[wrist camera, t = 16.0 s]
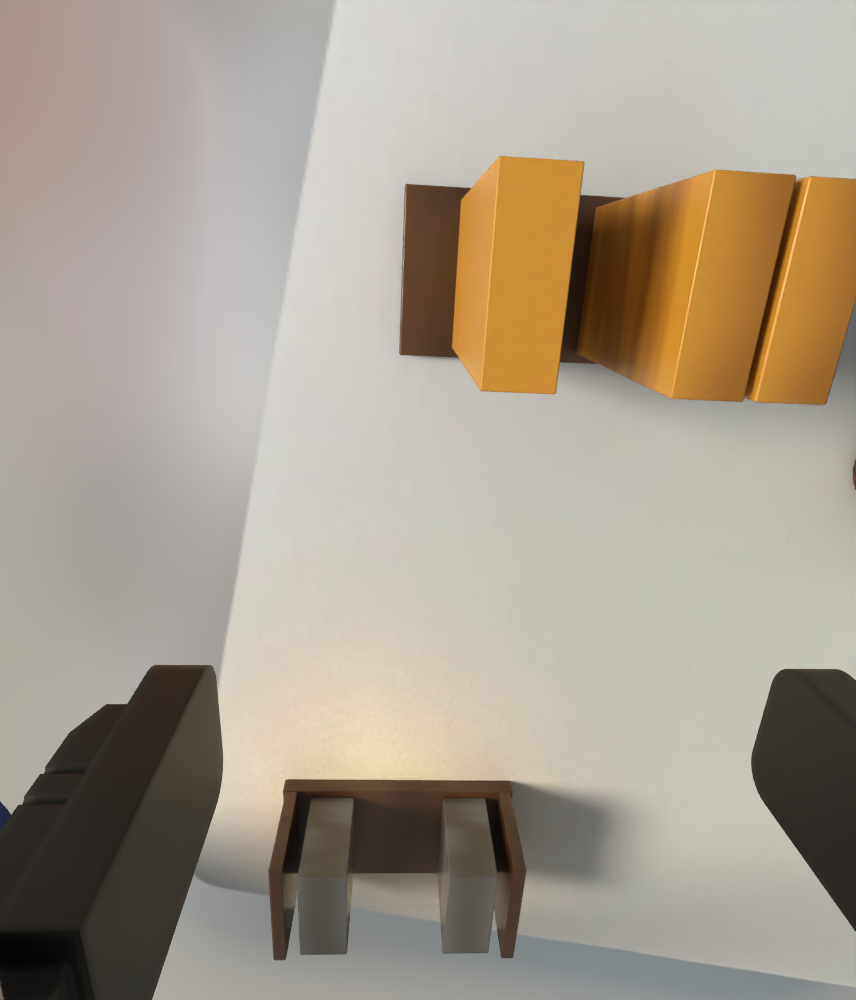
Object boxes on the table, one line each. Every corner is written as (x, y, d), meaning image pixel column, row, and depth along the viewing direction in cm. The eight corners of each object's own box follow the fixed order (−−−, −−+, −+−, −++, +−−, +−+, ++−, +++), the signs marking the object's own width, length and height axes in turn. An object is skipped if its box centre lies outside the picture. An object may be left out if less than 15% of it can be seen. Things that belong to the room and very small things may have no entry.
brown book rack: (288, 861, 46) (270, 961, 39) (285, 779, 43) (264, 871, 36) (499, 861, 46) (516, 958, 40) (510, 780, 44) (529, 870, 37)
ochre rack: (399, 352, 33) (398, 402, 20) (404, 186, 30) (408, 129, 18) (689, 366, 34) (852, 421, 21) (721, 206, 31) (931, 164, 19)
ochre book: (451, 348, 32) (479, 391, 20) (461, 199, 29) (498, 155, 18) (501, 350, 32) (555, 394, 21) (514, 202, 29) (585, 161, 18)
